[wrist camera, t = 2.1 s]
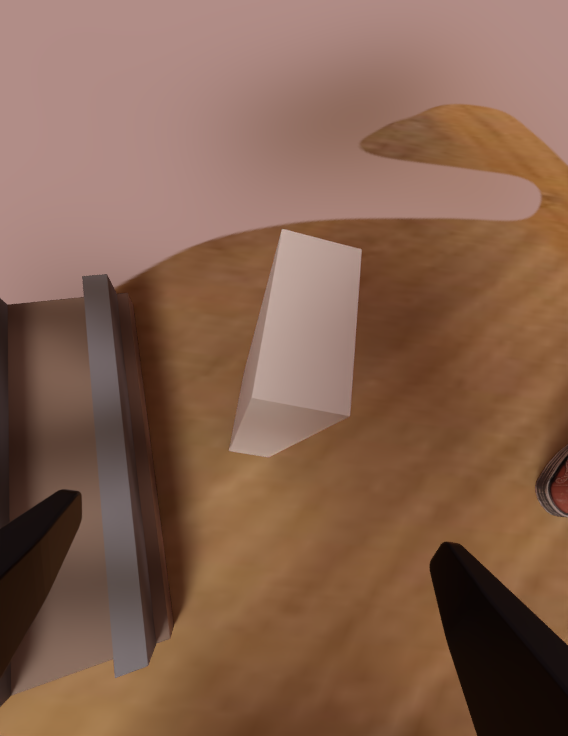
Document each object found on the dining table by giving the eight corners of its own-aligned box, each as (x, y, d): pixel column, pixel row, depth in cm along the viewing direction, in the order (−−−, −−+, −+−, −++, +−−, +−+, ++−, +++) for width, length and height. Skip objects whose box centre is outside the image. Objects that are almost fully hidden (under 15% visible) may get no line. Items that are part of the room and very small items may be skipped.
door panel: (268, 457, 20) (350, 415, 8) (228, 450, 20) (251, 397, 8) (280, 379, 22) (361, 249, 10) (244, 372, 22) (281, 228, 9)
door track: (173, 625, 17) (164, 659, 13) (-18, 692, 14) (-85, 752, 11) (133, 305, 22) (118, 273, 18) (-14, 321, 19) (-60, 288, 16)
